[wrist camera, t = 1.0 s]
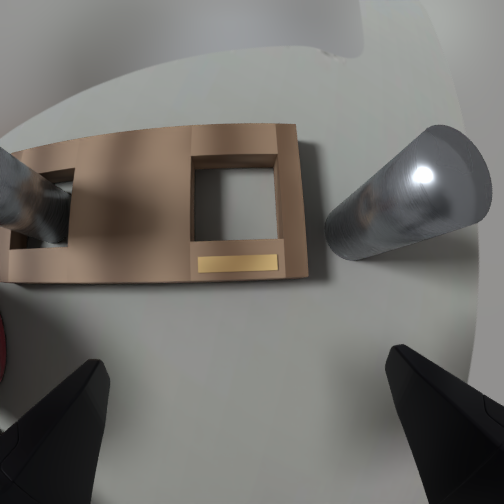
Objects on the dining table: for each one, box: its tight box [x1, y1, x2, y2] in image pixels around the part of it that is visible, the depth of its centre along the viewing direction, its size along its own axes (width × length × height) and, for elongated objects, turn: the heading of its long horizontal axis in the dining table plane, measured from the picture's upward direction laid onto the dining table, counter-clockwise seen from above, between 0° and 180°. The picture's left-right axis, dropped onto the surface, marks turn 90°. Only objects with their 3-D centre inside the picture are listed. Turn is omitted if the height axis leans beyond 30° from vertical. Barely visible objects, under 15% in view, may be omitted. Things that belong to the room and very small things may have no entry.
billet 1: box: [0, 147, 71, 243], centre depth 16 cm, size 4×4×13 cm
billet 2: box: [325, 125, 492, 260], centre depth 17 cm, size 4×4×13 cm
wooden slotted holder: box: [0, 123, 308, 284], centre depth 21 cm, size 24×11×3 cm, turn 92°
